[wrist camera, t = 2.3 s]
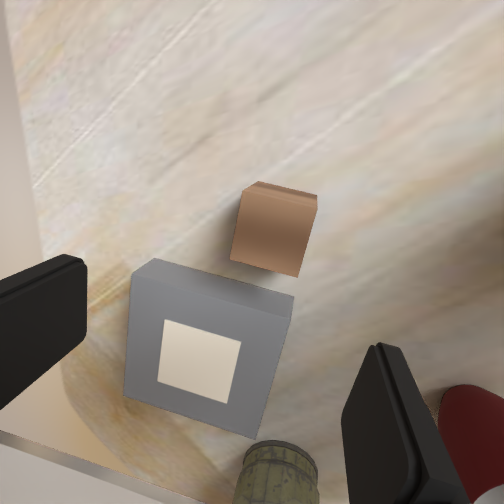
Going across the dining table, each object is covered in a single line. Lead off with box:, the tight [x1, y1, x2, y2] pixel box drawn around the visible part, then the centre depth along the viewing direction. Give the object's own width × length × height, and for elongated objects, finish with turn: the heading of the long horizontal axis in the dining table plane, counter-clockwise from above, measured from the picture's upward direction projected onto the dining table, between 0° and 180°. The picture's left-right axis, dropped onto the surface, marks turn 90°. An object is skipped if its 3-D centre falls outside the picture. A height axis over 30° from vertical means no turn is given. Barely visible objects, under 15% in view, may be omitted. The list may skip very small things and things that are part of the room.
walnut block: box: [229, 181, 317, 278], centre depth 23 cm, size 5×5×6 cm
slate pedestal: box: [123, 258, 294, 440], centre depth 30 cm, size 14×14×4 cm
